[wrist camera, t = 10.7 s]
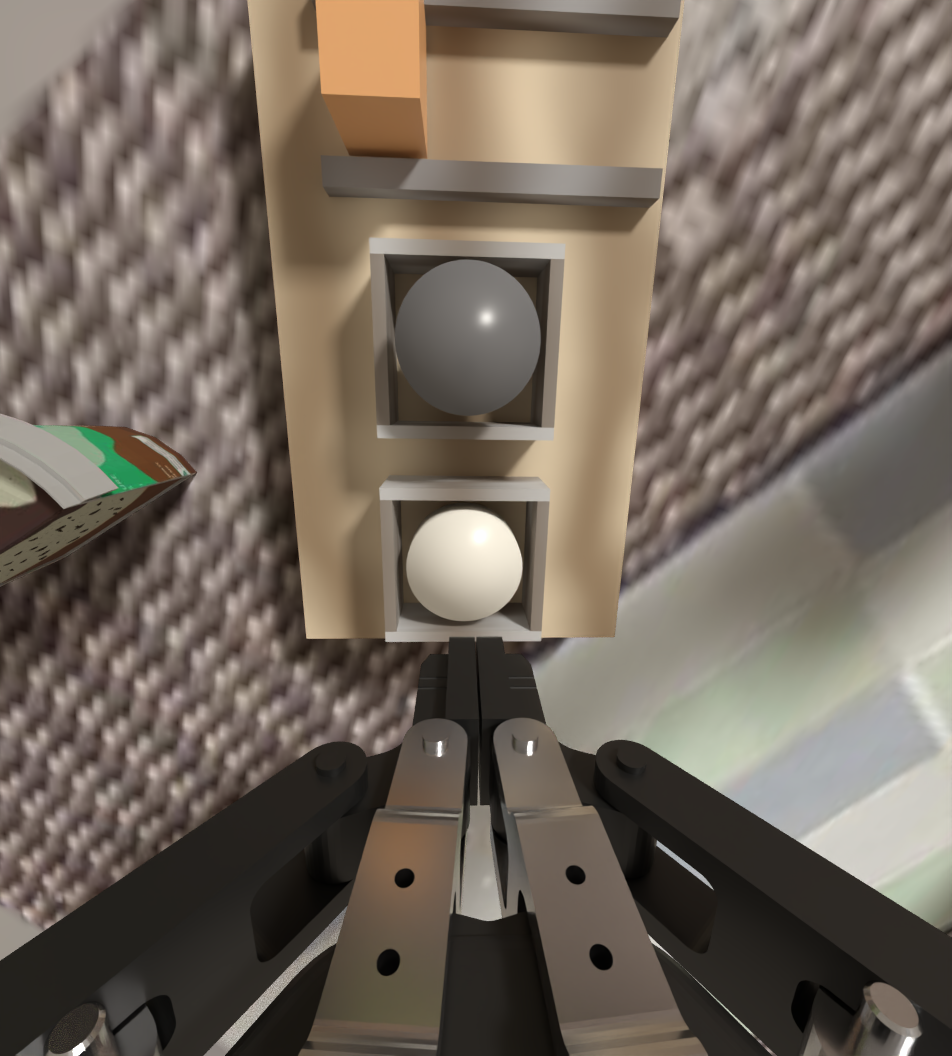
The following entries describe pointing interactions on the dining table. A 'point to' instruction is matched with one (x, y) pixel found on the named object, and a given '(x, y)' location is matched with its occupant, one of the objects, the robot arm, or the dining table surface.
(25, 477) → the food container
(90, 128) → the dining table surface
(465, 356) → the charcoal button
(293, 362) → the board
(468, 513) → the cream button
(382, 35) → the slider knob
